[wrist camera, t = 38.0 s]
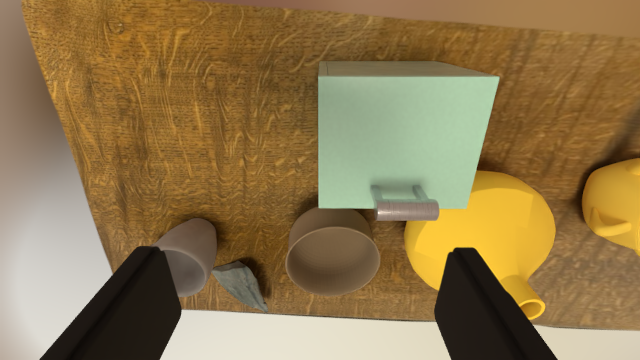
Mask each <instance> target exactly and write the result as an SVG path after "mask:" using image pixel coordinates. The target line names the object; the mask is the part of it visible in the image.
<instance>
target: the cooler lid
mask: <svg viewBox="0 0 640 360" xmlns="http://www.w3.org/2000/svg"><path fill="white" fill-rule="evenodd" d="M499 78H500V77H499V76H491V75H319V76H318V205H319V208H374V217H375V220H377V221H436V220H437V219H438V217H439V209H467V205H468V201H469V197H470V193H471V189H472V185H473V181H474V177H475V173H476V169H477V165H478V161H479V157H480V153H481V149H482V145H483V142H484V138H485V134H486V130H487V126H488V122H489V118H490V114H491V110H492V106H493V102H494V98H495V94H496V90H497V86H498V82H499Z"/></svg>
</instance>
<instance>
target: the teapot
mask: <svg viewBox="0 0 640 360" xmlns="http://www.w3.org/2000/svg"><path fill="white" fill-rule="evenodd" d="M582 209H583V215H584V218H585V221H586V223H587V225H588V226H589V228H590V229H591V230H592V231H593V232H594V233H595V234H597V235H599V236H602V237H603V238H605V239H607V240H609V241H612V242H614V243H617V244H619V245H622V246H625V247H628V248H632V249H634V250H635V252H636V253H637V254H638V256H639V257H640V158H635V159H630V160H626V161H621V162H618V163H614V164H611V165H608V166H605V167H602V168H599V169H597V170H595V171H594V172H592V173H591V175H590V176H589V178H588V180H587V182H586V185H585V188H584V192H583V196H582Z"/></svg>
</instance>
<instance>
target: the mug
mask: <svg viewBox="0 0 640 360" xmlns="http://www.w3.org/2000/svg"><path fill="white" fill-rule="evenodd" d="M150 246H157V247H159V248H160V250H161V251H164V252H165V254H166V257H167V261H168V264H169V268H170V271H171V274H172V278H173V281H174V284H175V288H176V291H177V294H178V297H187V296H191V295H194V294H196V293H198V292H199V291H201V290H202V289H203V288H204V286H205V284H206V283H207V281H208V279H209V276H210V274H211V272H212V269H213V266H214V263H215V259H216V253H217V239H216V229H215V227H214V226H213V225H212V224H211V223H210V222H208V221H207V220H204V219H201V218H194V219H190V220H189V221H187V222H185V223H182V224H180V225H178V226H176V227H174V228H173V229H171V230H170V231H168V232H167V233H166V234H165V235H164V236H162V237H161V238H160V239H159V240H158V241H157V242H156V243H154V244H152V245H150Z"/></svg>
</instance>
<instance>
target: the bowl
mask: <svg viewBox="0 0 640 360" xmlns="http://www.w3.org/2000/svg"><path fill="white" fill-rule="evenodd" d="M285 265H286V271H287V274H288V276H289V278H290V279H291V280H292V282H293V283H294V284H295V285H296V286H298V287H299V288H301V289H302V290H304V291H306V292H309V293H311V294H315V295H320V296H340V295H345V294H348V293H351V292H354V291H356V290H358V289H360V288H362V287H363V286H365V285H366V284H368V283H369V282H370V281H371V280H372V279H373V277H374V276H375V275H376V273H377V271H378V269H379V266H380V252H379V249H378V247H377V245H376V244H375V242H374V240H373V236H372V232H371V229H370V226H369V224H368V222H367V221H366V219H365V218H364V217H363V216H362V215H361V214H360V213H358V212H357V211H355V210H353V209H351V208H319V206H317V207H314V208H312V209H310V210H308V211H306V212H305V213H303V214H302V215H301V216H300V217H299V218H298V219H297V220H296V221H295V223H294V224H293V226H292V228H291V231H290V234H289V249H288V253H287V256H286V262H285Z"/></svg>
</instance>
